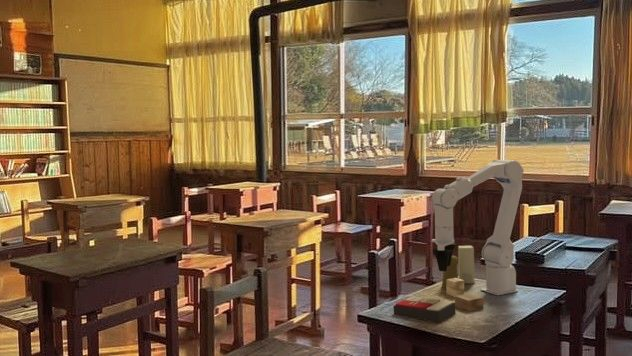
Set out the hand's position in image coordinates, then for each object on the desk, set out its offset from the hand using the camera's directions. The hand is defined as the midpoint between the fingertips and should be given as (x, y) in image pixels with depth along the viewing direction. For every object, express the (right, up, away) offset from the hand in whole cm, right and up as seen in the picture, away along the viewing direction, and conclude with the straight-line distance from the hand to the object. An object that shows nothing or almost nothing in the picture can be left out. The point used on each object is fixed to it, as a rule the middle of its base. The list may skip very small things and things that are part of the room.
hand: (444, 268), depth 194 cm
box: (+12, -8, +21) cm, 26 cm away
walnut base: (+6, -11, -8) cm, 15 cm away
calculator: (-9, -12, -14) cm, 21 cm away
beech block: (+5, -10, +6) cm, 12 cm away
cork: (+5, -9, +15) cm, 19 cm away
